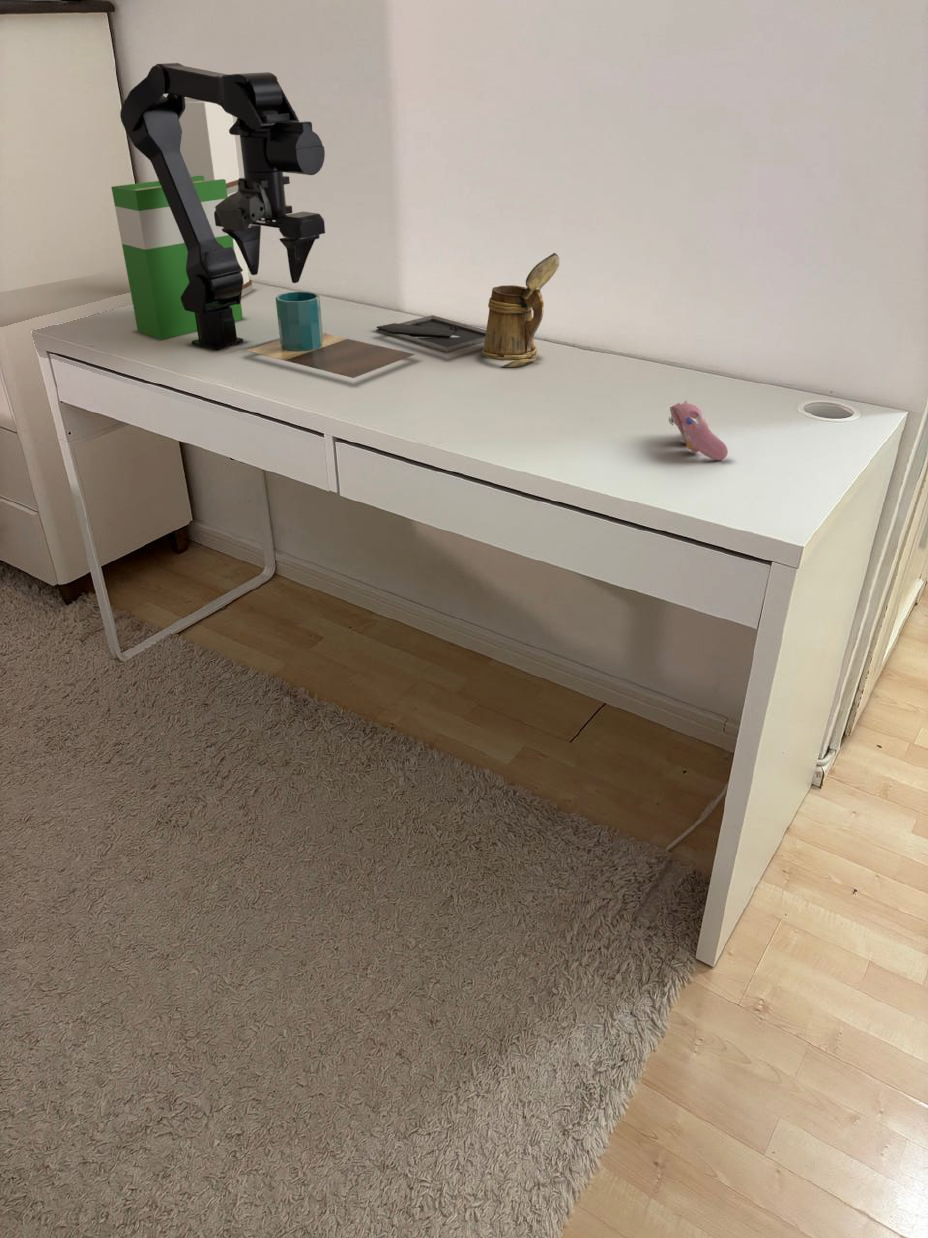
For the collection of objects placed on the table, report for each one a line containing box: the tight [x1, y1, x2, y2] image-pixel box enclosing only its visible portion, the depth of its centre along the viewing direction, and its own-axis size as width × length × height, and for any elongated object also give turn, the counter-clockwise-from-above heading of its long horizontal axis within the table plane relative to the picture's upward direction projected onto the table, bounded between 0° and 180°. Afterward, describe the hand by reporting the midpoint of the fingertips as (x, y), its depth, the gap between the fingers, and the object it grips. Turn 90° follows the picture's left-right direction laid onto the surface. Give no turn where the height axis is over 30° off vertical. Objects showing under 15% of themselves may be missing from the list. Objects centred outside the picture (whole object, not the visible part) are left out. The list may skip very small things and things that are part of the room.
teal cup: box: [275, 291, 324, 351], centre depth 157 cm, size 7×7×8 cm
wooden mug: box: [481, 252, 560, 368], centre depth 150 cm, size 9×14×18 cm, turn 44°
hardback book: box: [111, 176, 244, 340], centre depth 168 cm, size 18×7×24 cm, turn 138°
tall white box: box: [179, 97, 254, 298], centre depth 184 cm, size 11×11×35 cm
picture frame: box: [376, 314, 486, 354], centre depth 165 cm, size 13×2×18 cm
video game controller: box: [668, 400, 729, 461], centre depth 123 cm, size 10×5×7 cm, turn 5°
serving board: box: [245, 333, 416, 379], centre depth 156 cm, size 24×15×1 cm, turn 53°
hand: (274, 278), depth 149 cm, fingers open, 9 cm apart
